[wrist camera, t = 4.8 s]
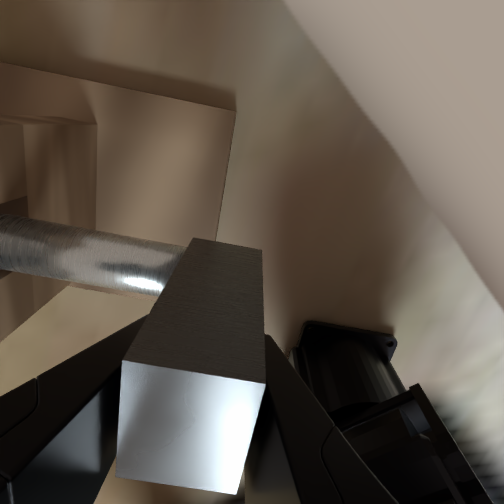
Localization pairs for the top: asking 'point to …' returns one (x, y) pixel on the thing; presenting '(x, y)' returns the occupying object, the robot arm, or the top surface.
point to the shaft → (169, 344)
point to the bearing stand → (104, 169)
